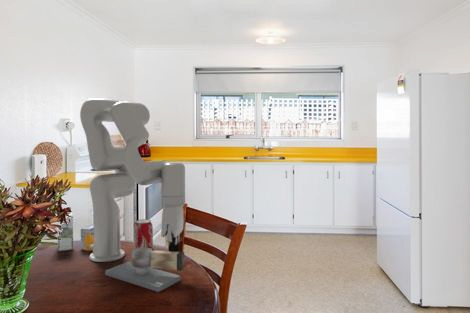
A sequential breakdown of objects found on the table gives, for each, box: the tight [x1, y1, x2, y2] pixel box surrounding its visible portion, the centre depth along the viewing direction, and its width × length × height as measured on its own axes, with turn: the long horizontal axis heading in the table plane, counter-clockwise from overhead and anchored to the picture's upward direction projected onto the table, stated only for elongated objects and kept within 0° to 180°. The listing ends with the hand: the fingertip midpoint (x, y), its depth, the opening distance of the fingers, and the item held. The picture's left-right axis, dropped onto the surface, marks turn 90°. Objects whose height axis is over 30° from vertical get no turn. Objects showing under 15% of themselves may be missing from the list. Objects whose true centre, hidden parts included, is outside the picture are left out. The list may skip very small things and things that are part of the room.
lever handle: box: [131, 247, 185, 272], centre depth 113 cm, size 17×6×5 cm, turn 79°
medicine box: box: [80, 223, 94, 251], centre depth 145 cm, size 8×4×9 cm, turn 166°
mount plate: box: [104, 261, 182, 293], centre depth 115 cm, size 24×10×4 cm, turn 58°
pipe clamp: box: [84, 234, 94, 251], centre depth 143 cm, size 12×4×6 cm, turn 90°
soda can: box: [134, 218, 154, 250], centre depth 142 cm, size 7×7×12 cm
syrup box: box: [57, 212, 74, 252], centre depth 143 cm, size 6×6×14 cm
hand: (173, 255), depth 116 cm, fingers closed
